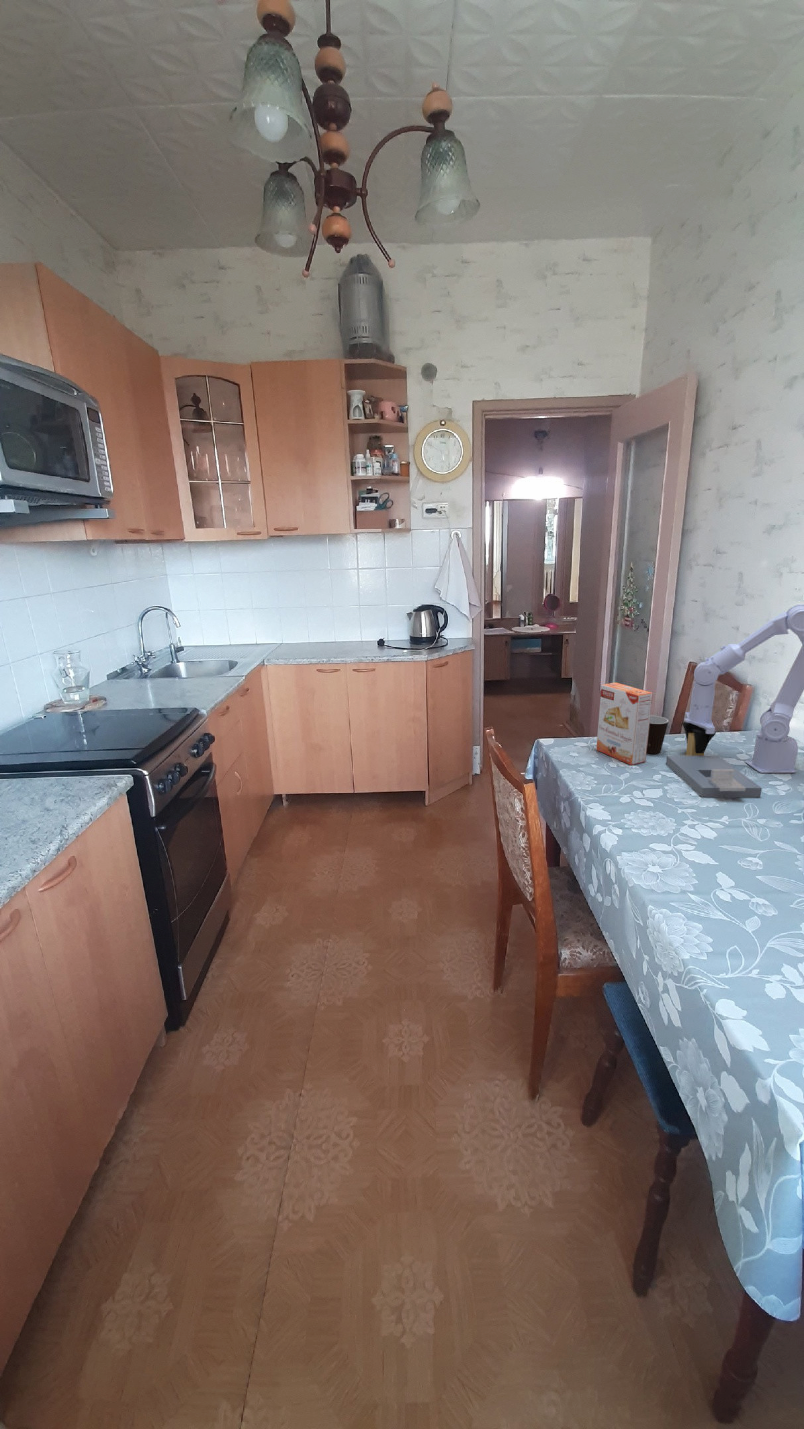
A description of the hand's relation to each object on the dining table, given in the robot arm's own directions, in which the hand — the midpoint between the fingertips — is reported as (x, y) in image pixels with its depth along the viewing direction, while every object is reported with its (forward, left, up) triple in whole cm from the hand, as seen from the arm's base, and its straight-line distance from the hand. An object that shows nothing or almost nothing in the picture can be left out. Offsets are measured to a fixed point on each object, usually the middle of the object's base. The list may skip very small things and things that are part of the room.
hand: (695, 749), depth 164 cm
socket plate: (+3, +16, -2) cm, 16 cm away
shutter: (+4, +26, 0) cm, 26 cm away
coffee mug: (+11, -7, -3) cm, 13 cm away
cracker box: (+21, -1, -3) cm, 21 cm away
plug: (0, 0, -2) cm, 2 cm away
